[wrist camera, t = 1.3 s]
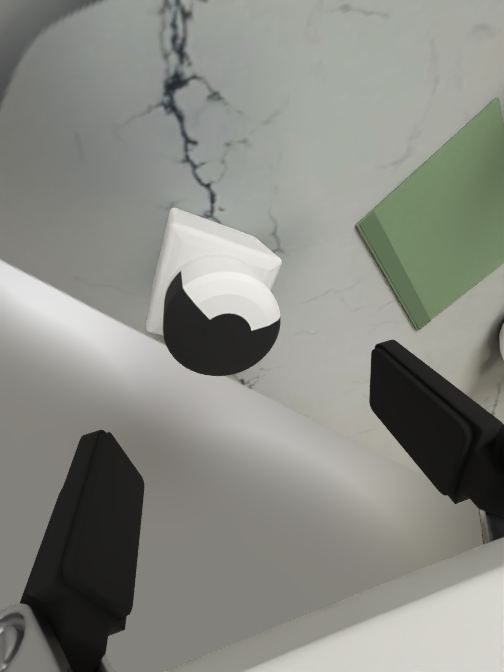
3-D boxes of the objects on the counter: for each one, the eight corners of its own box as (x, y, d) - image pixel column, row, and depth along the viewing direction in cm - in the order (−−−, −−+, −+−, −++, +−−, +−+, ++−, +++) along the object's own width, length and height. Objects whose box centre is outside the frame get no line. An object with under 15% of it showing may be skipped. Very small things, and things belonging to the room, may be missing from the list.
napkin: (355, 225, 25) (357, 226, 25) (495, 98, 23) (500, 96, 22) (415, 329, 34) (418, 330, 33) (523, 244, 31) (527, 245, 31)
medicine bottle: (229, 311, 27) (264, 399, 17) (150, 292, 24) (135, 382, 14) (257, 237, 24) (319, 289, 14) (170, 205, 21) (170, 241, 11)
